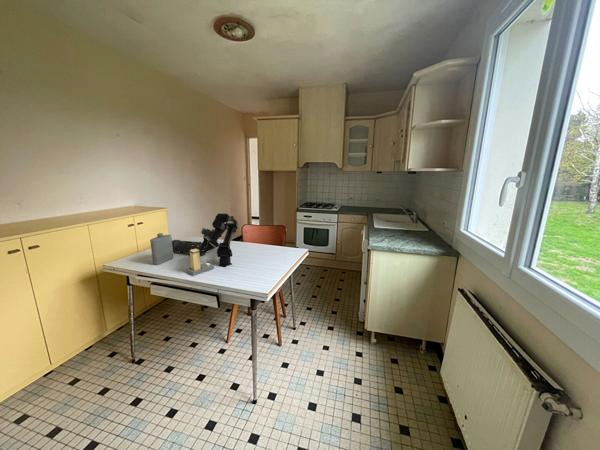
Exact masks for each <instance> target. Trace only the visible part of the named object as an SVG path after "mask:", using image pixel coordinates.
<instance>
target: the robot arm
mask: <svg viewBox="0 0 600 450" xmlns="http://www.w3.org/2000/svg"><path fill="white" fill-rule="evenodd" d="M211 225H212V227H213V228H214V229H213V228H212V230H211V229H209V228H205V227H202V229H201V232H200V233H201V235H203V240H202V244H201V246H200V249H202V248H204V247H205V246H206V247H205V249H204V250H203V253H205V252H206V253H207V252H209V251H211V250H214V249H216V255H217V258H219V259H218V261H219V263H218V266H221V267H223V268H225V267H227V266H232V265H233V263H232V262H231V257H233V251H232V249H231V242H232V238H233V235H234V234H235V233H236V232H237V231H238V229H239V224H238V221H237V220H236V219H235V217H234V216H233V215H230V214H229V213H225V212H224V213H221V212H220V213H217V215H215V218H214V219H213V221H212V223H211ZM225 232H226V233H225ZM224 233H225V236H224V238H223V241H222V242H218V240H219V239H220V238H222V237H223V236H222V235H223V234H224Z"/></svg>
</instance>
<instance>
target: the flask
mask: <svg viewBox="0 0 600 450" xmlns="http://www.w3.org/2000/svg"><path fill="white" fill-rule="evenodd" d="M172 240H173V239H172V234H163V232H158V233H157V234H156V236H155V237H152V238H151V239H150V250H151V257H152V264H153V265H154V266H159V265H162V264H164V263H166V262H169V261H172V260H174V252H173V247H172Z"/></svg>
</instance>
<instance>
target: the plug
mask: <svg viewBox="0 0 600 450" xmlns="http://www.w3.org/2000/svg"><path fill="white" fill-rule="evenodd" d="M189 258H190V259H189V260H190V267H191V270H192V271H196V270H199V269H201V266H200V264H201V255H200V253H199V250H198V249H192V250H190V253H189Z"/></svg>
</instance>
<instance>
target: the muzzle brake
mask: <svg viewBox="0 0 600 450" xmlns="http://www.w3.org/2000/svg"><path fill="white" fill-rule="evenodd" d="M202 242H203V241H202ZM202 242H201V241H190V240H189V241H188V240H181V239H172V247H173V253H179V254H190V250H192V249H198V250H199V253H200V256H205V255H206V254H207V252H205V253H203V250H204V249H205V247H206V246H205V247H204V248H202V249H200V246H201V244H202Z"/></svg>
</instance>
